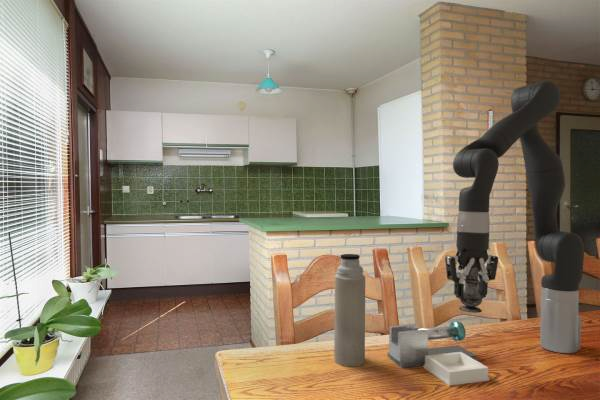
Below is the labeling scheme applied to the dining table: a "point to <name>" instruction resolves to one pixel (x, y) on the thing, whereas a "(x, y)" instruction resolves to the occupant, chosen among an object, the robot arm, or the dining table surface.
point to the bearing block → (415, 346)
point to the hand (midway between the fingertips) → (470, 297)
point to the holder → (456, 368)
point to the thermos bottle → (349, 312)
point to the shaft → (447, 332)
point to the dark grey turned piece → (471, 293)
